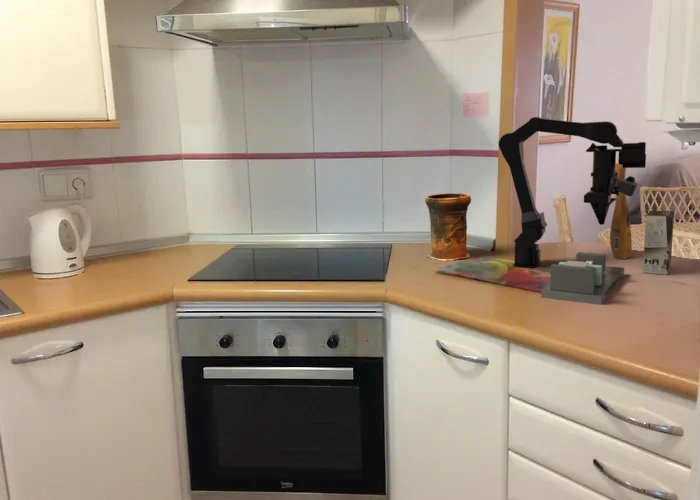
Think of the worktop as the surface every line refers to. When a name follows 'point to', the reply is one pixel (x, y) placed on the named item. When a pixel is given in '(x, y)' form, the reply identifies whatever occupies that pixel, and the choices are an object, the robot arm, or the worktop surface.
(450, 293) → the worktop surface
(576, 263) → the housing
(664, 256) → the coffee box
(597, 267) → the ram
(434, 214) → the vessel
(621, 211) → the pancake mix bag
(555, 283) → the press
